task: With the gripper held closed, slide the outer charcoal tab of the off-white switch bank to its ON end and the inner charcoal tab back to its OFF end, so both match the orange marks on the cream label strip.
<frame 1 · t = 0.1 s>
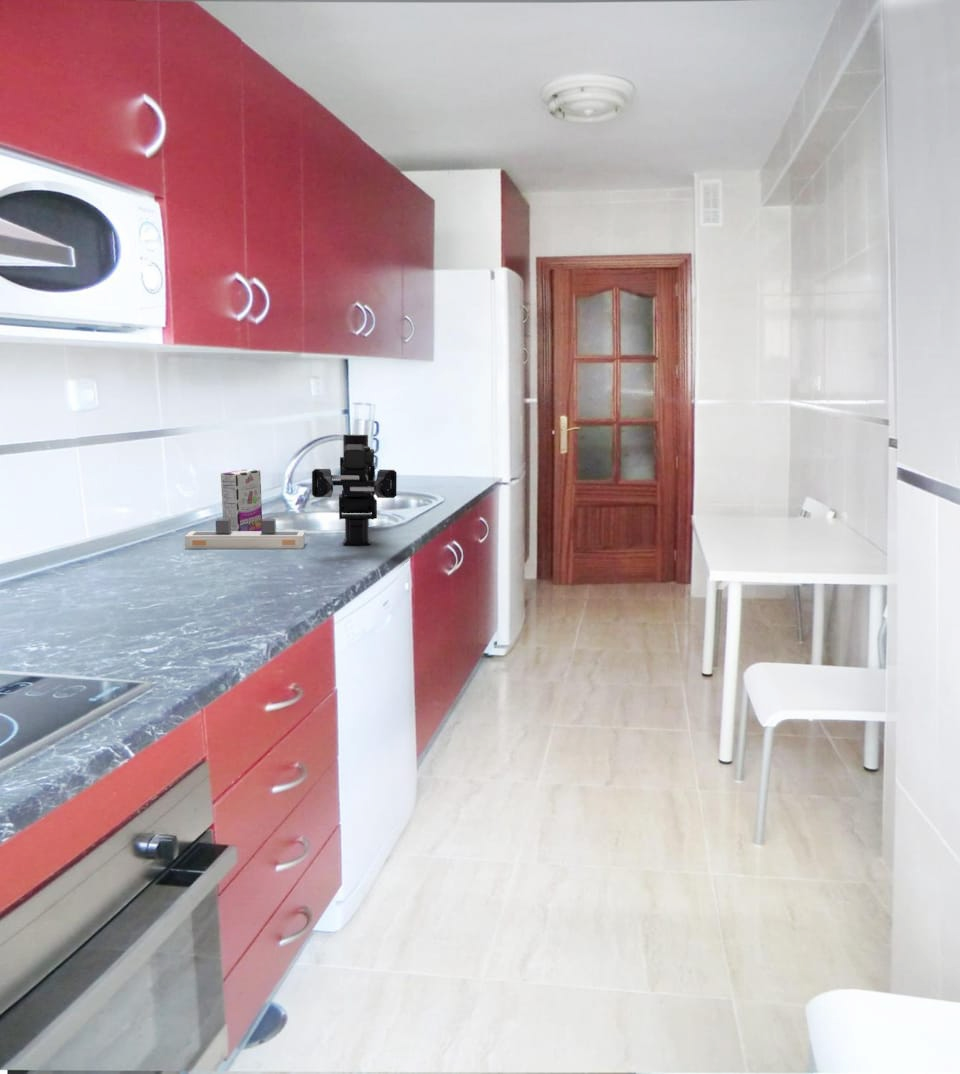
hand: (353, 487, 199), 17 cm above the worktop, tool horizontal, fingers open, 9 cm apart
candy bar box: (242, 536, 236), on the worktop
switch bank: (246, 546, 221), on the worktop
outer tab: (223, 526, 219), point 5 cm above the worktop, slide at 0.0 cm
inner tab: (268, 526, 220), point 5 cm above the worktop, slide at 5.0 cm
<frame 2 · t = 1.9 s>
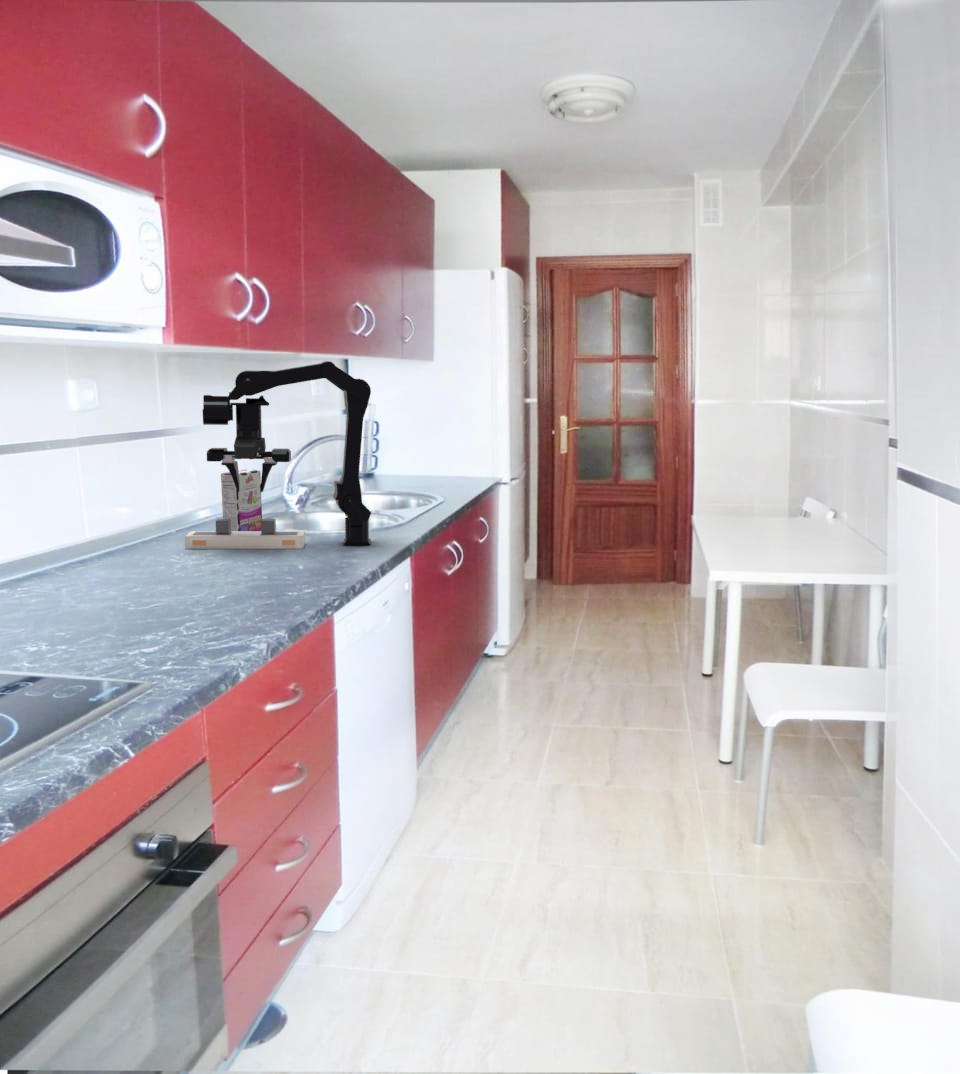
hand: (250, 491, 219), 13 cm above the worktop, tool pointing down, fingers open, 5 cm apart
nothing on the worktop moved.
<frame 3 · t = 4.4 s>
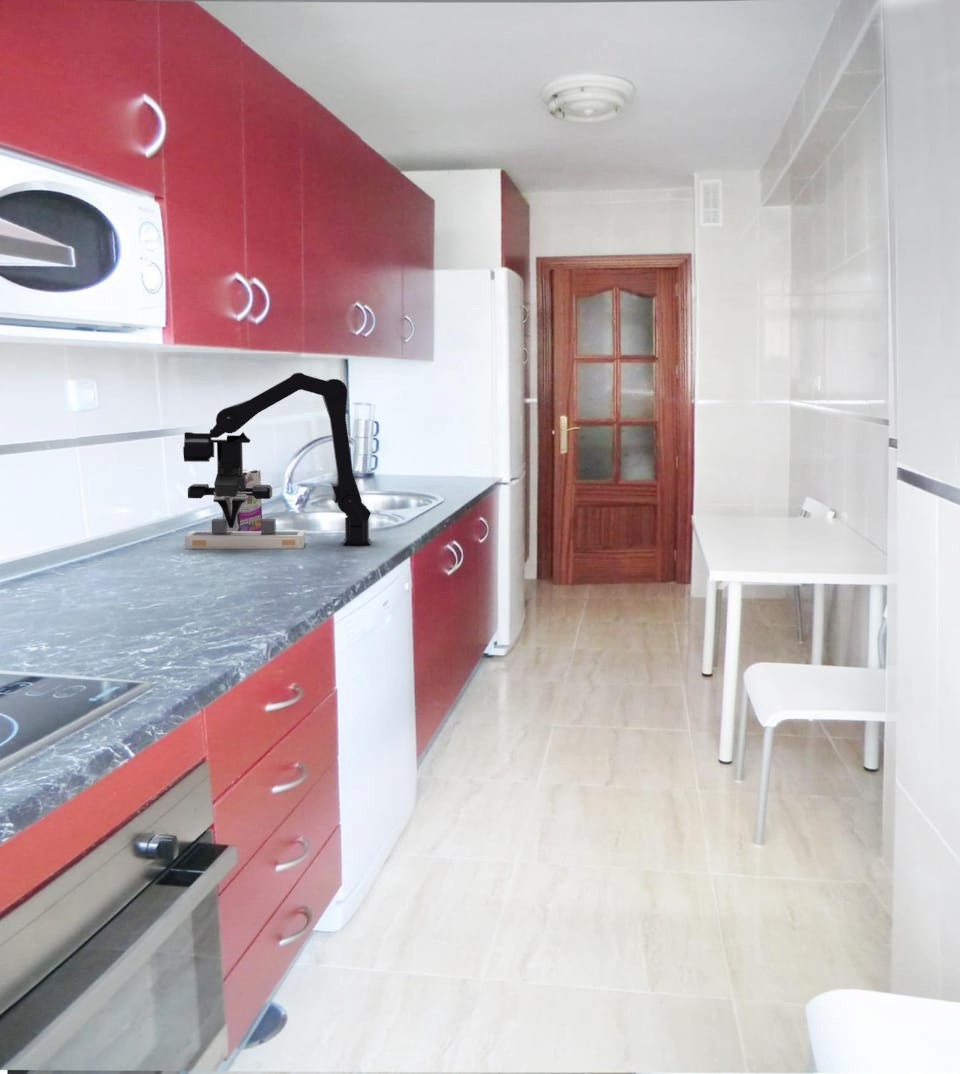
hand: (231, 527, 220), 4 cm above the worktop, tool pointing down, fingers closed
outer tab: (219, 526, 219), point 5 cm above the worktop, slide at 0.9 cm, touching gripper
everything else where it was.
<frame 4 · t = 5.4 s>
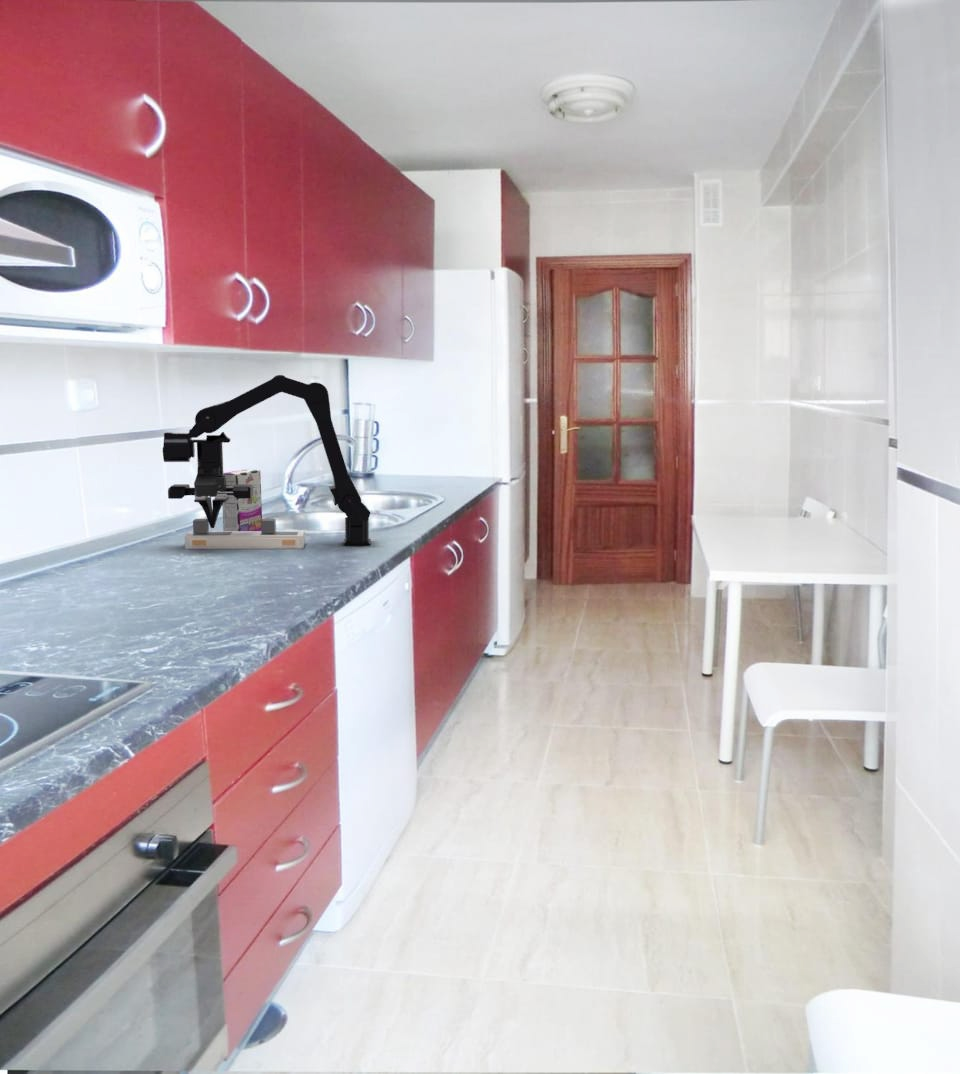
hand: (212, 527, 219), 4 cm above the worktop, tool pointing down, fingers closed
outer tab: (200, 526, 219), point 5 cm above the worktop, slide at 5.2 cm, touching gripper
everything else where it was.
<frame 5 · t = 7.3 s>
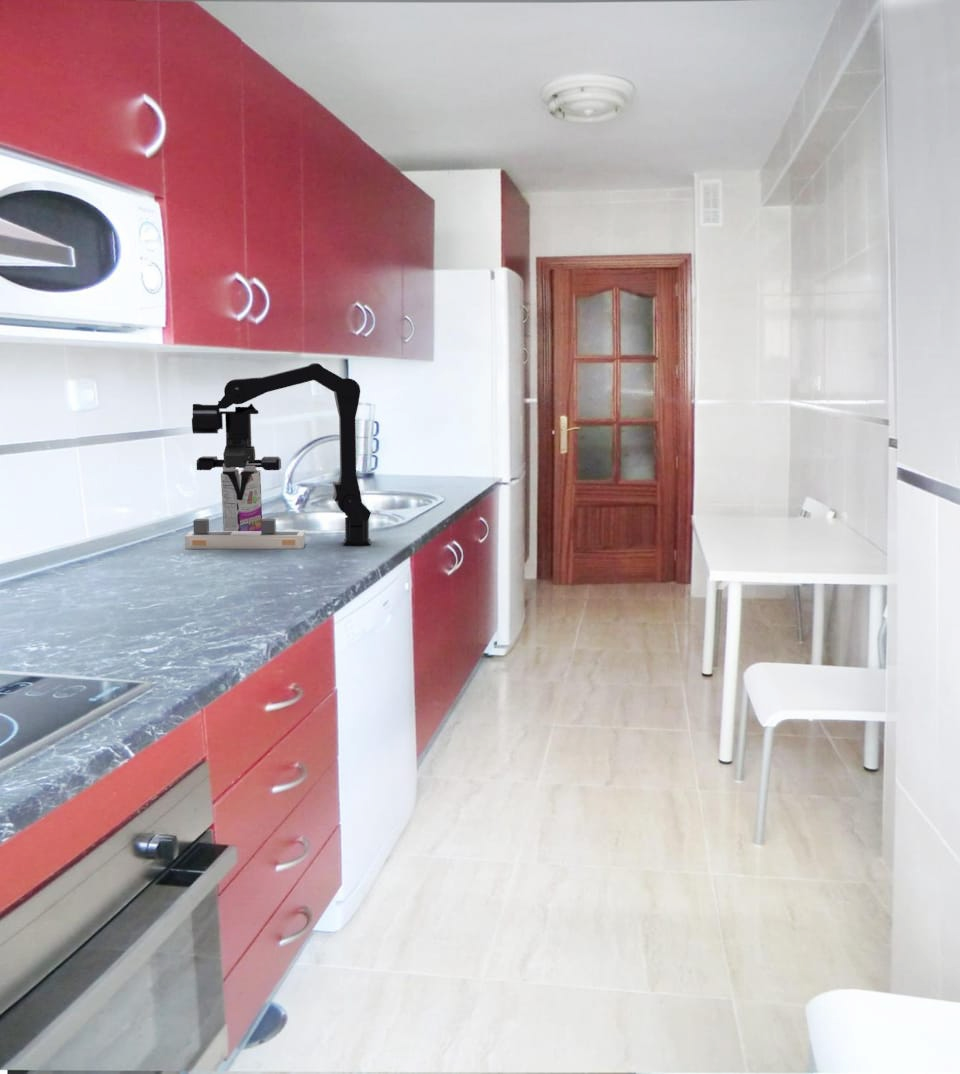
hand: (240, 500, 219), 11 cm above the worktop, tool pointing down, fingers closed
outer tab: (201, 526, 219), point 5 cm above the worktop, slide at 5.1 cm
everything else where it was.
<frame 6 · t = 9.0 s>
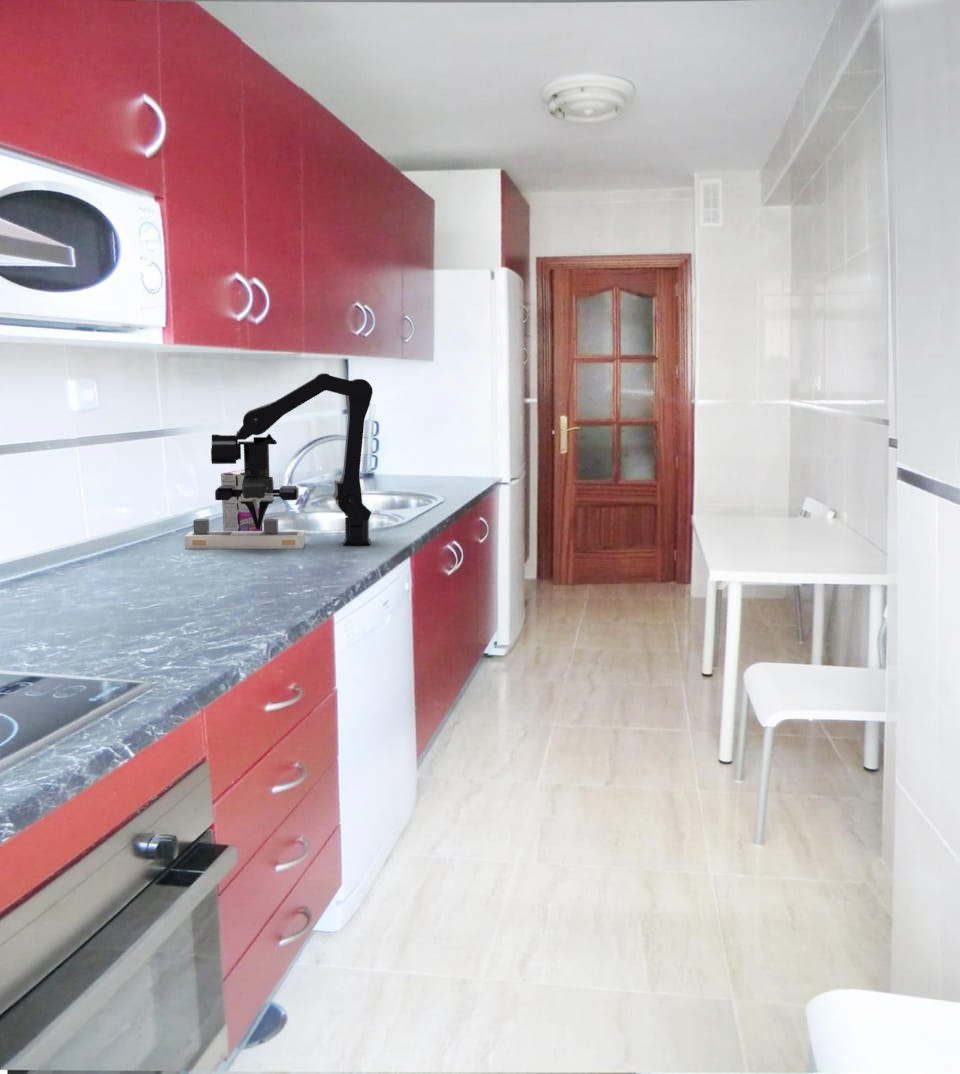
hand: (258, 529, 220), 4 cm above the worktop, tool pointing down, fingers closed
inner tab: (271, 526, 221), point 5 cm above the worktop, slide at 4.4 cm, touching gripper
everything else where it was.
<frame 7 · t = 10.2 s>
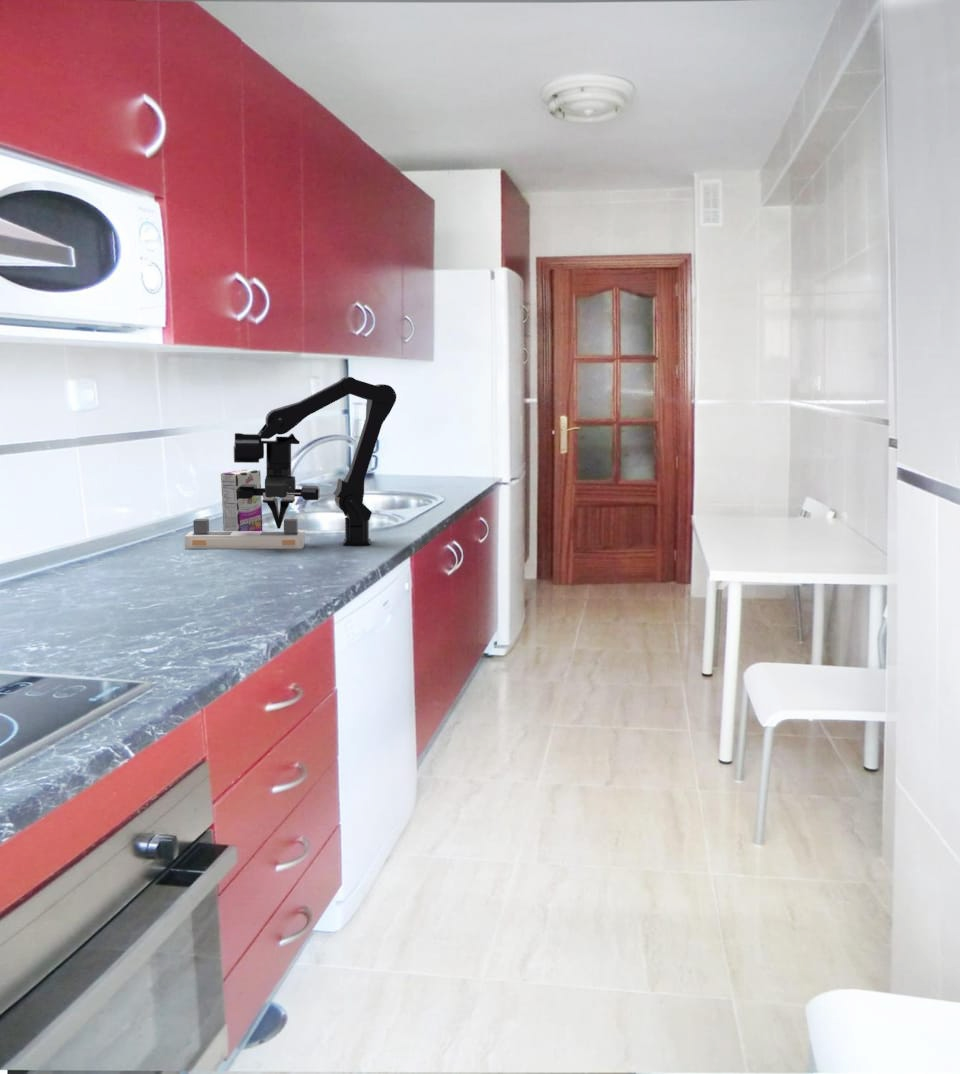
hand: (279, 528, 221), 4 cm above the worktop, tool pointing down, fingers closed
inner tab: (290, 526, 221), point 5 cm above the worktop, slide at -0.2 cm, touching gripper
everything else where it was.
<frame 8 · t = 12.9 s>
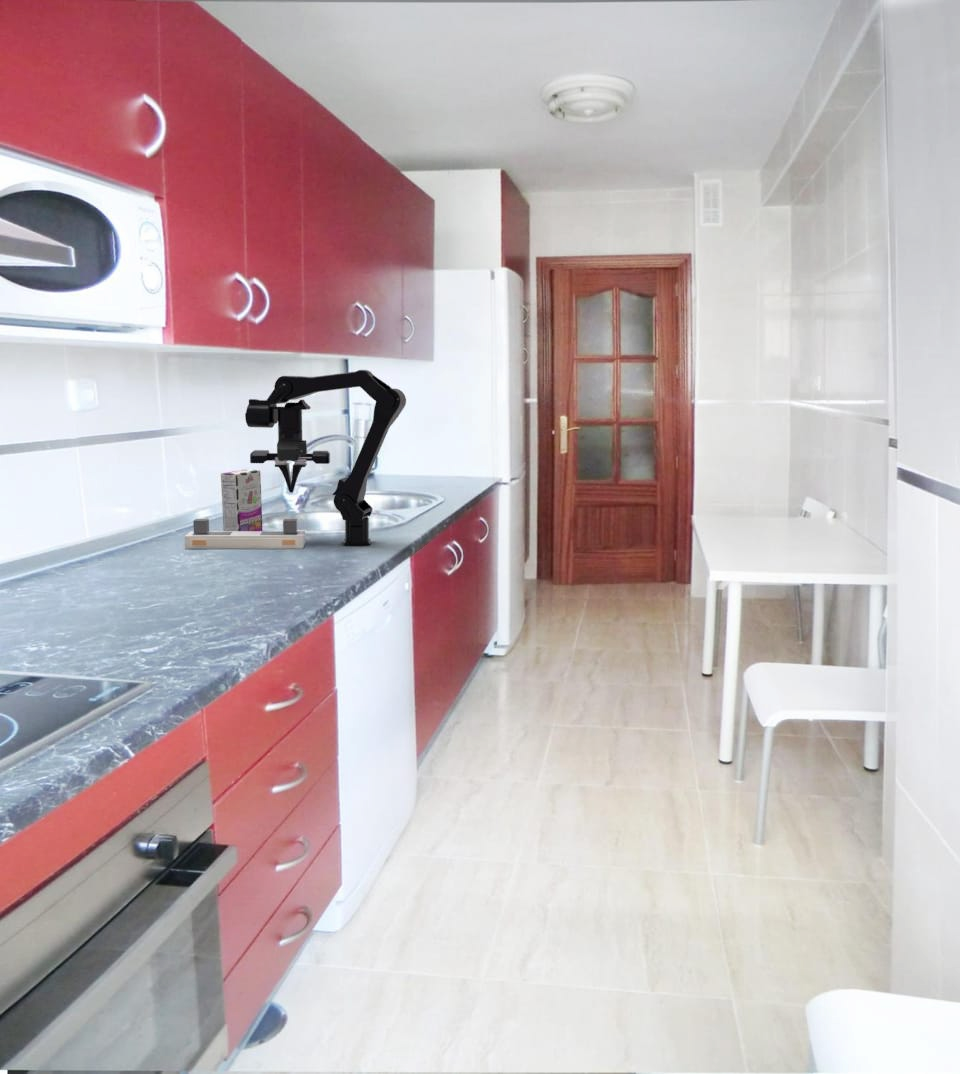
hand: (291, 492, 227), 12 cm above the worktop, tool pointing down, fingers closed
inner tab: (290, 526, 221), point 5 cm above the worktop, slide at -0.1 cm
everything else where it was.
at the end: outer tab slide at 5.1 cm; inner tab slide at -0.1 cm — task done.
